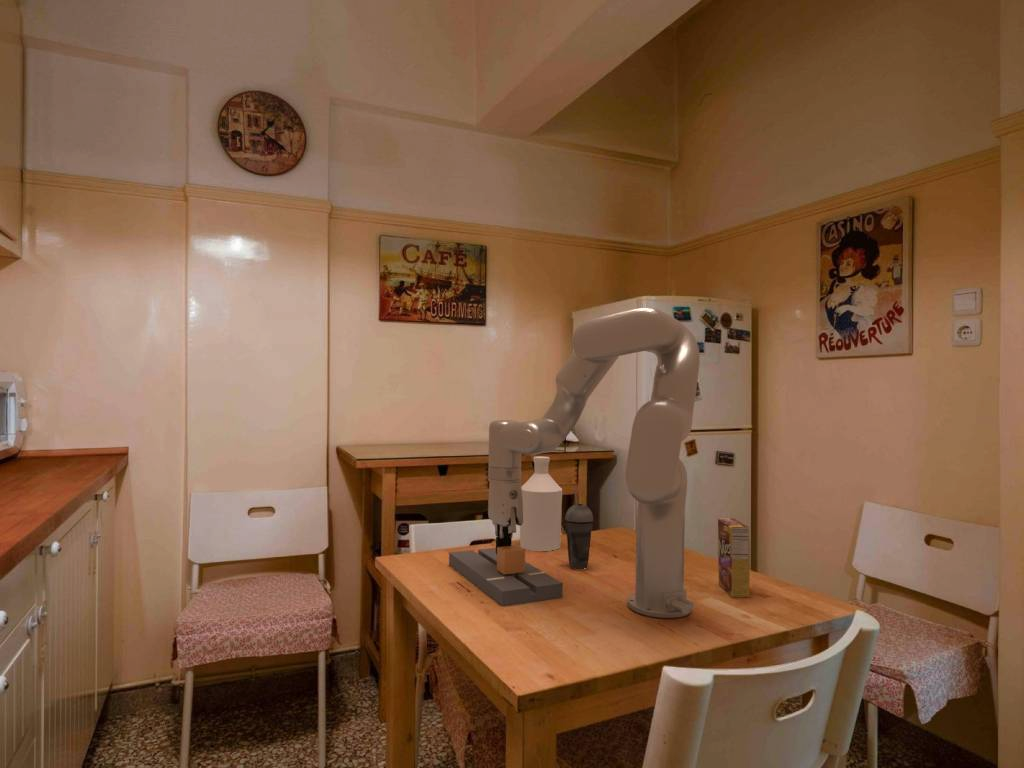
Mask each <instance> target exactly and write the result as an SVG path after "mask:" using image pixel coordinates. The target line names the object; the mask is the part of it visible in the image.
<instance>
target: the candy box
mask: <svg viewBox="0 0 1024 768" xmlns="http://www.w3.org/2000/svg"><path fill="white" fill-rule="evenodd" d="M717 541H718V542H717V544H718V545H717V546H718V547H717V551H718V552H717V555H718V558H717V559H718V561H717V562H718V569H717V570H718V586H720V588H722V589H723V590H724V591H725V592H726V593H727V594H728V595H729V596H730V597H731V598H739V599H741V598H742V599H743V598H744V599H745V598H747V599H748V598H750V595H751V594H750V592H751V591H750V590H751V589H750V584H751V583H750V577H751V576H750V569H751V568H750V527H749V526H748V525H746V524H744V523H742V522H740V521H739V520H738V519H736V518H733V517H730V518H729V517H722V518H721V517H720V518H719V517H718V518H717Z"/></svg>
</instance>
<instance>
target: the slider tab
mask: <svg viewBox="0 0 1024 768" xmlns="http://www.w3.org/2000/svg"><path fill="white" fill-rule="evenodd" d="M525 562H526V550H525V549H524V548H522V547H520V545H518V544H515V545H511V546H504V547H497V570H498V571H500V572H501V573H503V574H504V575H505V574H510V575H511V576H513V577H514V578H516V573H521V572H525Z"/></svg>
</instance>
